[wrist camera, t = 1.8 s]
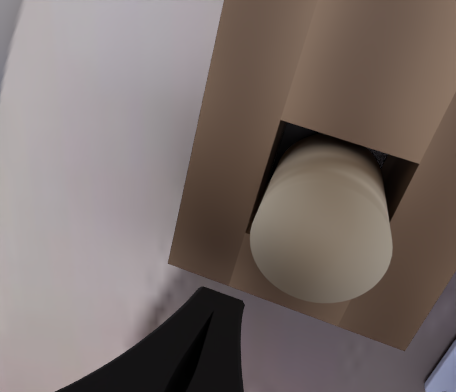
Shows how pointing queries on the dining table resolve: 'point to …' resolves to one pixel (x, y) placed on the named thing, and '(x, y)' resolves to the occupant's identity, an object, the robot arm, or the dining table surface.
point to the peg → (323, 222)
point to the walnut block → (337, 127)
